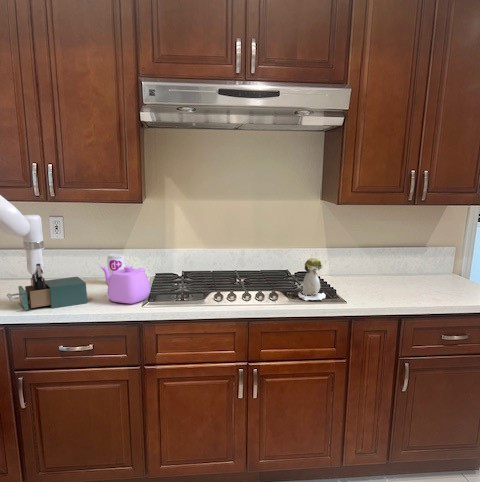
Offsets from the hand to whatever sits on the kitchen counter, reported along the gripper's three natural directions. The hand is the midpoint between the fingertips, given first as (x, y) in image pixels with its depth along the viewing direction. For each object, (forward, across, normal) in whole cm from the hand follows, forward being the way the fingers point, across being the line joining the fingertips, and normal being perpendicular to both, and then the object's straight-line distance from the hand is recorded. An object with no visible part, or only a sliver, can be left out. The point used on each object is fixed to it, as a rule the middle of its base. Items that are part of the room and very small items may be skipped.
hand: (38, 288), depth 193 cm
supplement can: (+8, -17, +40) cm, 44 cm away
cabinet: (+8, 0, +10) cm, 13 cm away
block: (0, 0, 0) cm, 0 cm away
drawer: (+7, 0, -2) cm, 7 cm away
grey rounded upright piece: (+8, +50, +107) cm, 119 cm away
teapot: (+8, +10, +34) cm, 37 cm away
